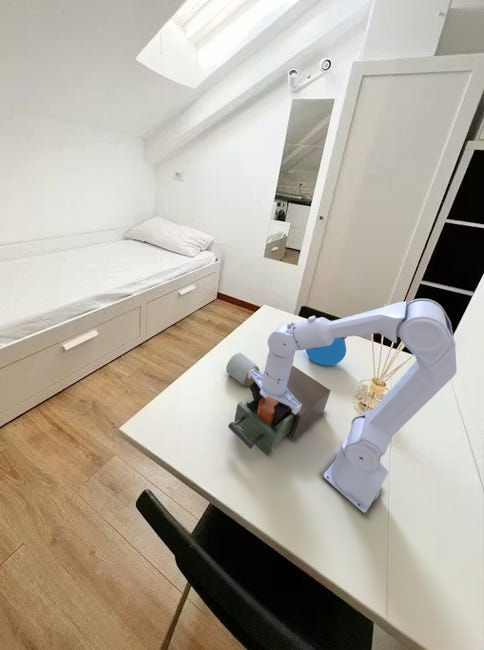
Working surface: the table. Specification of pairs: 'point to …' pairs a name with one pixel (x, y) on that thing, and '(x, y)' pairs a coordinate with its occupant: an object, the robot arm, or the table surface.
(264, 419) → the orange cylinder canister
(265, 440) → the drawer
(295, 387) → the cabinet
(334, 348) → the alarm clock
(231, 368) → the ceramic mug
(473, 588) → the table surface
